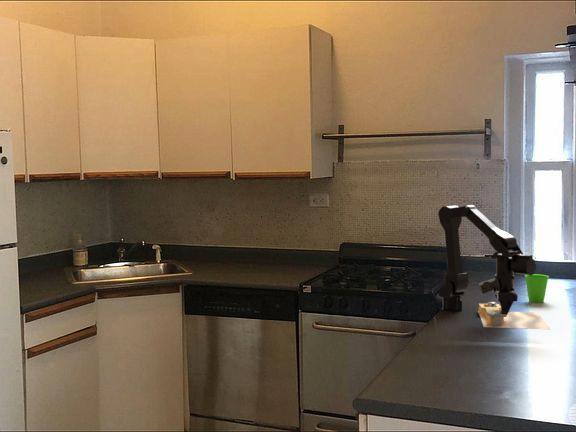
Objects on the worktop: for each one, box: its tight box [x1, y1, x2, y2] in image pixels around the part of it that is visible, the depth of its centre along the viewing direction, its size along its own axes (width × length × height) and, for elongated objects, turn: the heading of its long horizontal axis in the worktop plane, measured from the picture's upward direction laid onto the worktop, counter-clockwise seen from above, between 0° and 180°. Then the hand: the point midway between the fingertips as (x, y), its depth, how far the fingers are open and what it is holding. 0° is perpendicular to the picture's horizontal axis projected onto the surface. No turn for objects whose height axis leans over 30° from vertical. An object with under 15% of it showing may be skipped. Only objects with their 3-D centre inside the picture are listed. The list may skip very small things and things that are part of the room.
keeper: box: [486, 310, 507, 327], centre depth 234 cm, size 7×6×4 cm
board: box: [477, 310, 551, 330], centre depth 241 cm, size 21×25×1 cm
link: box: [478, 303, 504, 324], centre depth 244 cm, size 19×7×3 cm, turn 172°
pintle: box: [487, 301, 497, 307], centre depth 250 cm, size 3×3×4 cm
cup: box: [524, 273, 550, 304], centre depth 270 cm, size 9×9×11 cm
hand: (504, 316), depth 240 cm, fingers closed
